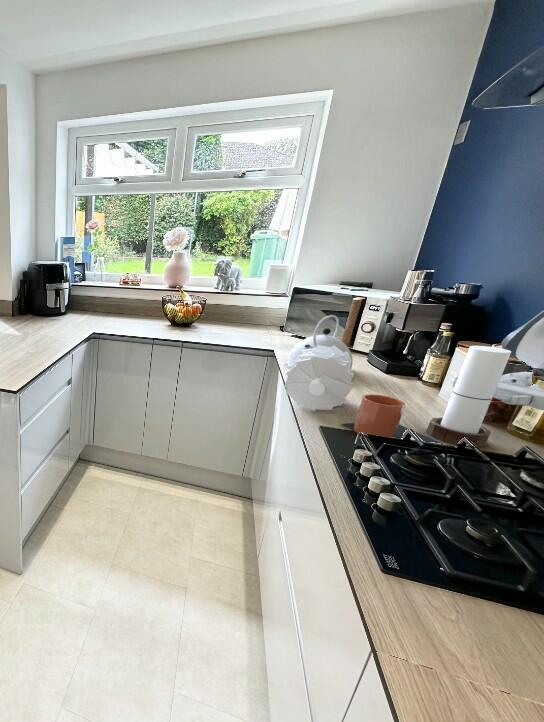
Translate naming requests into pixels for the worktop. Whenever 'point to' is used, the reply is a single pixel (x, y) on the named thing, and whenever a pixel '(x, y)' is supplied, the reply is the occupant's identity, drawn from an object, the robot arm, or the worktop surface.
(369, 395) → the terracotta cup
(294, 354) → the kettle
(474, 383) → the cylindrical container
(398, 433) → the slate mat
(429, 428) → the holder ring
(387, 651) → the worktop surface
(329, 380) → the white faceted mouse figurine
